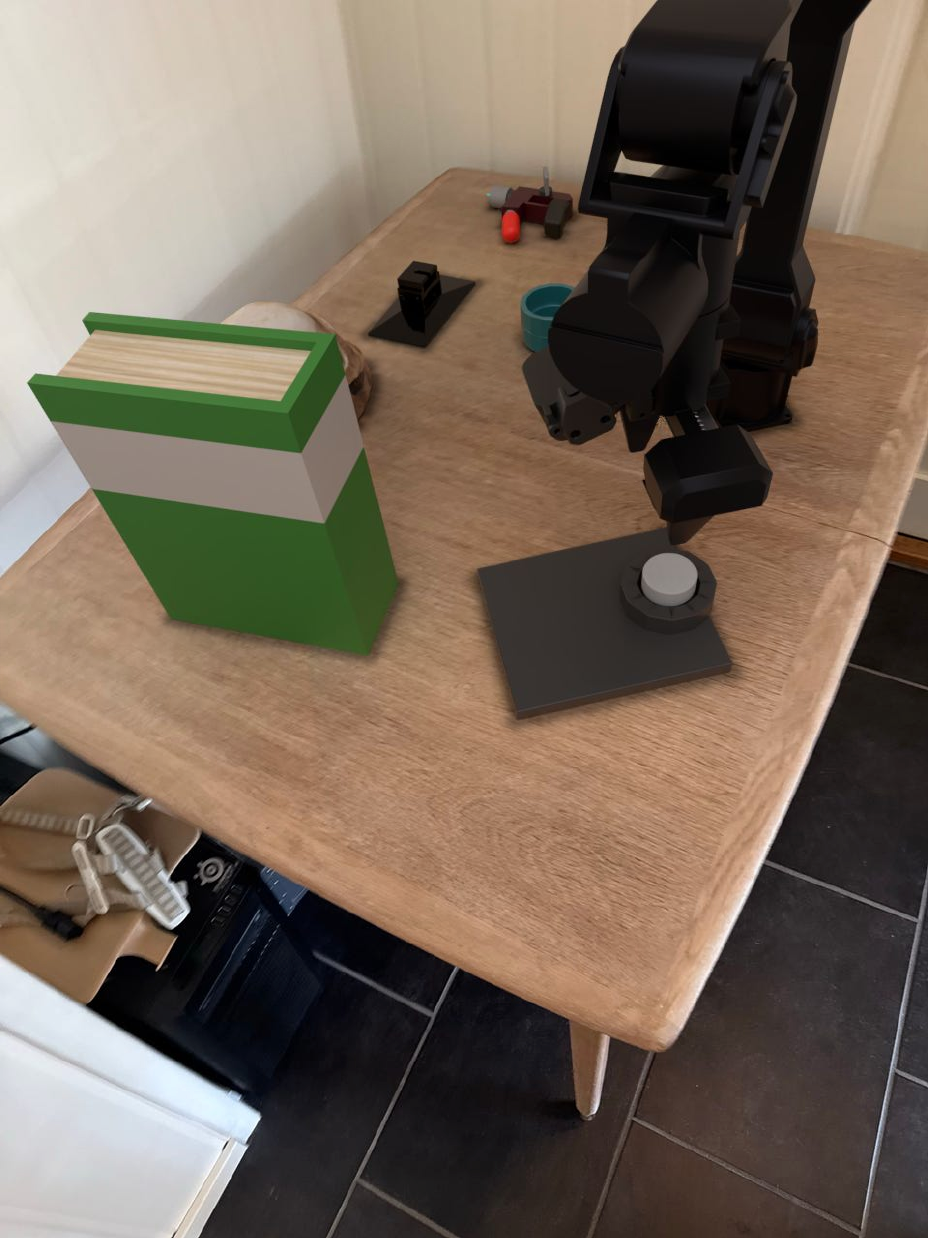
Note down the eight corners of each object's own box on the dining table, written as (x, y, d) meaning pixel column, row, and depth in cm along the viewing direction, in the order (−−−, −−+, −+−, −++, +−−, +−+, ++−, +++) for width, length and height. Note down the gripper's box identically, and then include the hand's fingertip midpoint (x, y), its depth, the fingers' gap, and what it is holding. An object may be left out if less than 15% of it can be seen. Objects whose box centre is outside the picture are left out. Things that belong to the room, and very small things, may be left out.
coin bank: (368, 351, 92) (336, 239, 80) (388, 475, 83) (356, 369, 71) (222, 383, 92) (170, 276, 81) (227, 510, 83) (169, 410, 72)
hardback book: (170, 618, 73) (26, 382, 54) (210, 552, 77) (89, 311, 58) (368, 655, 68) (287, 413, 49) (398, 583, 72) (335, 334, 53)
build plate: (425, 350, 92) (418, 311, 88) (365, 337, 94) (356, 298, 90) (476, 283, 98) (472, 244, 94) (419, 273, 100) (413, 234, 97)
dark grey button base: (677, 533, 73) (680, 508, 70) (743, 669, 64) (749, 646, 62) (477, 577, 72) (474, 553, 70) (517, 721, 63) (514, 699, 61)
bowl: (574, 316, 92) (574, 277, 89) (590, 351, 88) (591, 311, 85) (516, 328, 92) (514, 290, 88) (531, 363, 88) (529, 324, 85)
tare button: (684, 561, 67) (686, 547, 66) (703, 600, 65) (705, 587, 64) (634, 572, 67) (635, 559, 66) (651, 612, 65) (652, 599, 64)
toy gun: (493, 197, 109) (490, 157, 105) (582, 212, 105) (583, 171, 101) (456, 238, 104) (451, 197, 100) (549, 255, 100) (547, 213, 96)
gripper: (498, 230, 53) (513, 430, 66) (574, 427, 42) (575, 623, 54) (676, 196, 54) (658, 401, 66) (801, 382, 42) (750, 587, 54)
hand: (656, 494), depth 60 cm, fingers open, 9 cm apart
